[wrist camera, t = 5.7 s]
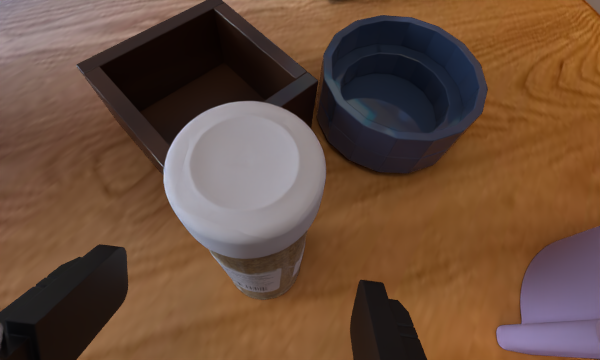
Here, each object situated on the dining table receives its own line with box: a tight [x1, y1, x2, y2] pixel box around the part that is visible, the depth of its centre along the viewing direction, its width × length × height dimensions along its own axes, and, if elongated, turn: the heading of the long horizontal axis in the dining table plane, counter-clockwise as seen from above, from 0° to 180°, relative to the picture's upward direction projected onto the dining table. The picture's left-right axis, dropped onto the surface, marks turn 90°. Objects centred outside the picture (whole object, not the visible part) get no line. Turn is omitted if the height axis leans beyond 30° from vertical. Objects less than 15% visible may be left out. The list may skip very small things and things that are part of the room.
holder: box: [76, 0, 318, 176], centre depth 23 cm, size 10×10×6 cm
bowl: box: [317, 15, 488, 173], centre depth 24 cm, size 11×11×5 cm
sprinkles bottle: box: [164, 101, 326, 300], centre depth 15 cm, size 5×5×14 cm
